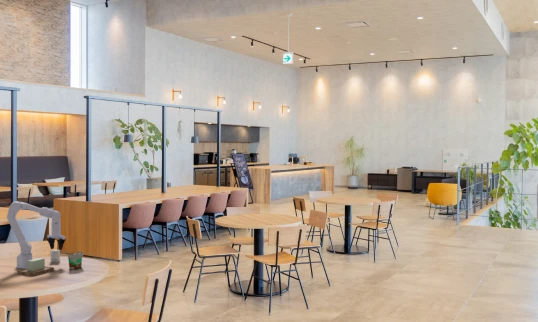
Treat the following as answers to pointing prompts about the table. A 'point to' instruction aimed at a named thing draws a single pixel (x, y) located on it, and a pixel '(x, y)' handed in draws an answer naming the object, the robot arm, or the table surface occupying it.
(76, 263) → the food container
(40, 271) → the walnut stand
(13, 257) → the table surface
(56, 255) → the white rounded canister
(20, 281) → the table surface
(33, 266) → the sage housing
